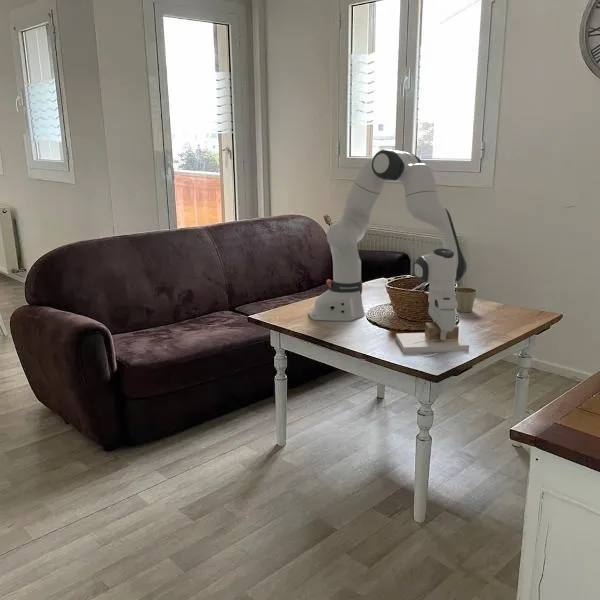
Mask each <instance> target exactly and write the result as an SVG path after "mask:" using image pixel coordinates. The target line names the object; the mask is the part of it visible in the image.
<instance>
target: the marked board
mask: <svg viewBox="0 0 600 600" xmlns="http://www.w3.org/2000/svg"><path fill="white" fill-rule="evenodd" d="M395 340H396V342H397V343H398V345H399V347H400V348H401V350H402V352H403V354H413V353H414V354H416V353H419V354H420V353H443V352H445V353H446V352H447V353H448V352H469V350H470V344H469V343H468V341H466V340H465V339H464V337H463V336H462V335H461V334H460V332H459V333H458V341H445V342H429V341H428V340H427V338H426V337H425V332H409V333H404V332H403V333H395Z"/></svg>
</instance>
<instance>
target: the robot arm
mask: <svg viewBox="0 0 600 600" xmlns="http://www.w3.org/2000/svg"><path fill="white" fill-rule="evenodd" d="M432 170H433V169H432V168H431V166H429V164H426V163H423V161H422V160H421V159H420V157H418V156H417V155H415V154H414V153H409V152H406V151H404V150H394V149H390V148H386V149H382V150H379V151H377V152H376V154H374V156H373V158H369V159H367V160H366V161H365V162H364V164H363V165H362V167H361V169H360V170H359V171H358V174H357V176H356V177H355V179H354V181H353V184H352V186H351V187H350V188H351V189H350V191H349V193H348V194H347V197H346V199H345V206H344V210H343V214H342V216H341V218H340V219H338V220H337V221H335V222H333V223H332V224H331V225H330V227H328V230H327V233H326V240H327V243H328V244H329V248H330V253H331V256H332V275H333V276H332V278H333V279H332V280H331V279H327V280H326V285H327V290H326V291H324V292H323V293H321V294H320V295H319V296H318V297H317V298H316V299H315V303H314V307H313V308H311V309H309V311H308V317H309V318H310V319H312V320H314V321H332V322H333V321H334V322H335V321H336V322H337V321H339V322H352V321H354V320H356V319H359V318H362V317H364V316H365V315H366V313H365V309H364V305H363V299H362V298H363V297H362V294H363V280H362V260H361V258H360V255H359V249H358V243H359V242H361V241H362V240H363V238H364V236H365V234H366V232H367V229H368V227H369V224H370V220H371V217H372V213H373V212H374V210H375V207H376V205H377V203H378V201H379V198H380V196H381V195H382V193H383V191H384V188H385V186H386V185H387V182H393V183H401V184H402V185H403V189H404V197H405V205H406V209H407V212H408V214H409V215H410V216H411V217H412V218H413V219H415V220H417V221H420V222H422V223H426V224H428V225H431V226H433V227H434V228H435V229H437V230H438V232H439V234H440V238H441V243H442V244H443V248H436V249H433V250H432V251H431V253H428V254H424V255H420V256H418V257H417V258H416V260H415V261H414V263H413V276H414V277H415V278H416V279H417V280H418V281H420V283H428V284H429V286H428V292H429V295H428V302H429V307H428V309H427V310H428V315H429V316H430V318H432V322H436V324H437V325H438V326H439V327H440V330H441V333H440V339H441V340H445V339H446V334H447V332H452V331H453V330H454V326H455V324H456V317H457V310H456V309H457V308H458V303H457V300H456V295H455V288H456V284H455V282H458V281H460V280H461V279H462V278H463V277H464V275H465V274H466V272H467V269H468V267H467V261H466V259H465V256H464V255H463V252H462V249H461V246H460V244H459V243H460V242H459V240H458V236H457V233H456V230H455V226H454V223H453V219H452V217H451V214H450V212H449V211H448V209H447V208H445V207H444V206H443V204H442V203H441V201H440V199H439V196H438V188H437V183H436V180H435V179H436V178H435V176H434V173H433V171H432Z"/></svg>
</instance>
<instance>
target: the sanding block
mask: <svg viewBox="0 0 600 600" xmlns="http://www.w3.org/2000/svg"><path fill="white" fill-rule="evenodd" d="M424 323H425V324H424V325H425V328H424V333H425V337H426V338H427V340H428V341H429V342H445V341H458V333H459V334H460V332H459V329H460V327H459V326H458V324H456V323H455V326H454V330H453V331H452V332H447V334H446V339H445V340H441V339H440V333H441V330H440V327H439V326H438V325H437V324H436V322H433V321H431V322H424Z"/></svg>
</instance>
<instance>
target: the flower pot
mask: <svg viewBox="0 0 600 600" xmlns="http://www.w3.org/2000/svg"><path fill="white" fill-rule="evenodd" d="M456 288H457V291H456V300H457V303H458V308H457V309H455V310H456V311H458V312H460V313H472V311H473V307H474V302H475V298H476V295H477V293H478V291H479V290H477V289H475V288H474V287H466V286H461V287H456Z"/></svg>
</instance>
